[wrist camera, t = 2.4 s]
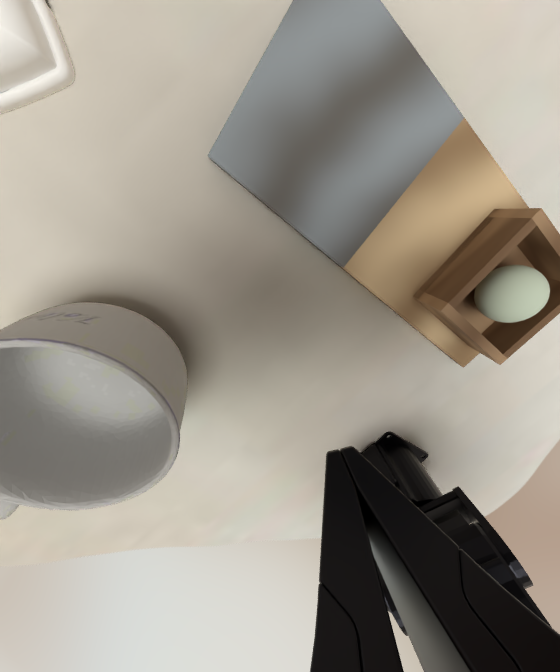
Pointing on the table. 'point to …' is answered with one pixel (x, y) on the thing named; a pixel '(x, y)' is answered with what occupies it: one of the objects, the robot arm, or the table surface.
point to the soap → (31, 54)
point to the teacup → (86, 407)
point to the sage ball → (512, 293)
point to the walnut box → (477, 262)
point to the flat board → (363, 153)
